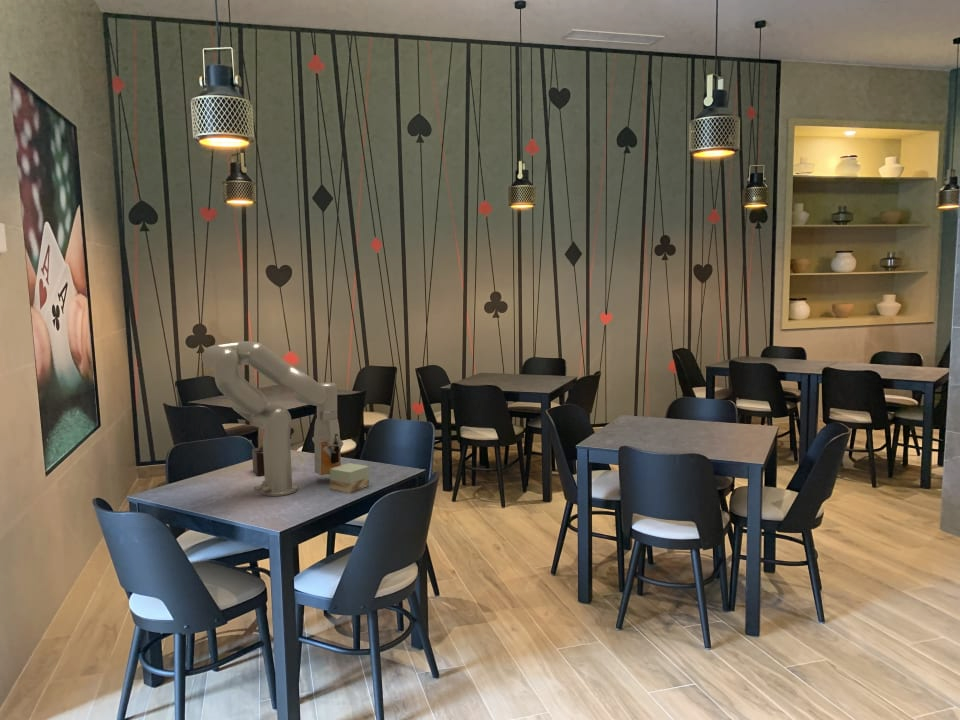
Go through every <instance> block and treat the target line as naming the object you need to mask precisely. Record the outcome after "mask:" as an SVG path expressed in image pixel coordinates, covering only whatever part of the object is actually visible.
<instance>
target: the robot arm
mask: <svg viewBox="0 0 960 720" xmlns="http://www.w3.org/2000/svg"><path fill="white" fill-rule="evenodd" d="M201 361H202V363H203V365H204V366H205V367H206V368H207V369H210V370H212V371H214V372H213V373H214V381H215V385H216V387H217V389H218V390H219V392H220V393H221V394H222V395H223V396H225V397H226V398H227V399H228V402H229V405H230V407H231V408H232V410H233V411H235V412H236V413H237V414H239V415H240V417H243V418H244V419H245V420H246V421H248V422H249V423H251V424H252V425H254V427H257V428H258V429H263V430H264V433H263V438H262V445H263V456H264V474H265V476H264V480H263V481H262V483H261V484H260V485H256V486H254V487H253V492H255V493H257V492H260V494H261V495H262V496H267V497H279V496H280V497H281V496H287V495H290V494H293V493H295V492H297V491H298V486H297V485H296V484H294V483H293V473H292V472H293V469H292V454H291V453H292V451H291V439H290V430H291V428H292V416H291V414H290V412H289V410H288V409H286V408H285V407H284V406H281V405H279V404H273V403H270V402H268V399H267V397H266V395H265V394H264V392H262V391H261V390H260V389H258V388H257V387H255V386H254V385H252V384H251V383H250V382H249V381H247V379H246V378H244V377H243V375H241V374H240V371H239V366H243V365H245V366H250V367H251V368H252V369H254V370H255V371H256V372H258V373H260V374H261V375H262V376H264V377H265V378H266V379H268V380H269V381H271V382H272V383H273V384H275V385H277V386H280V387H283V388H286V389H288V390H290V391H293V395H294V398H295V399H296V400H297V401H298V402H299V403H302V404H305V405H311V406H316V419H315V423H314V428H313V436H312V438H311V440H312V442H313V445H314V446H315V439H318V440H324V441H326V446H327V447H331V450H332V453H331V463H332V464H334V463H338V462H339V452H340V449H342V447H344V446H343V445H344V442H343V441H342V440H341V437H340V436H341V435H340V424H339V419H338V386H337V384H336V383H335V382H320V383H319V382H318V381H316V380H315V379H314V378H312V377H311V376H309V375H308V374H306V373H305V372H303V371H301V370H299V369H298V368H297V367H295V366H293V365H291V364H290V363H288V362H287V361H286V360H284V359H282V357H280V356H279V355H278V354H276V353H275V352H274V351H272V350H271V349H269V348H268V347H267V346H266V345H264V344H262V343H260V342H258V341H248V340H247V341H246V340H243V341H237V342H231V343H221V344H215V345H210V346H208V347H207V348H205V350H203V352H202V355H201ZM335 440H336V444H334V441H335ZM335 446H336V448H335V449H334V447H335Z"/></svg>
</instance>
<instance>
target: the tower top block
mask: <svg viewBox="0 0 960 720" xmlns="http://www.w3.org/2000/svg"><path fill="white" fill-rule="evenodd" d="M329 477H330V478H329V481H330V480H335V481H340V482H346V483H353V482H356V481H359V480H362V479H365V478H368V477H369V478H370V466H369V465H365V464H364V465H363V464H358V463H352V462H348V463H345V464H342V465H341V466H338V467H335V468H331V469H330V474H329Z"/></svg>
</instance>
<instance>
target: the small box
mask: <svg viewBox="0 0 960 720" xmlns="http://www.w3.org/2000/svg"><path fill="white" fill-rule="evenodd" d="M334 444H336V440H335V441H334ZM335 448H336V446H335V447H334V449H335ZM341 449H342V448H341ZM341 449H340V452H339V462H338V463H334V464H332V463H331V453H332V450H331V447H327V446H326V441H324V440H318V439H315V445H314V473H315V474H318V475H320V476H324V475H330V469H331V468H335V467H338V466H341V462H342V461H341V459H342V458H341V454H342V453H341Z"/></svg>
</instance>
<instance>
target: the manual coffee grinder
mask: <svg viewBox="0 0 960 720" xmlns="http://www.w3.org/2000/svg"><path fill="white" fill-rule="evenodd" d="M294 433H295V429H294V428H293V427H291V430H290V440H292V436H293V435H294ZM251 455H252V456H251V457H252V471H253V473H254V474H255V475H256V476H257V477H265V474H264V456H263V444H261V446H259V447H254V448H252V449H251Z"/></svg>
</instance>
